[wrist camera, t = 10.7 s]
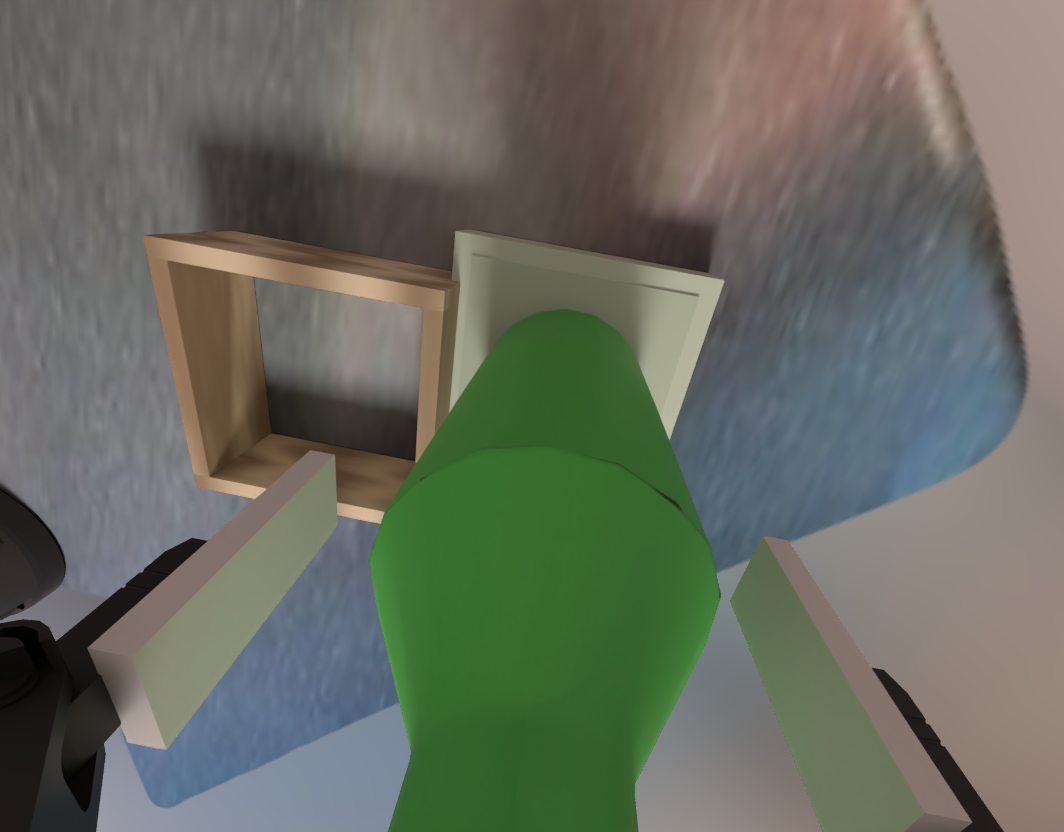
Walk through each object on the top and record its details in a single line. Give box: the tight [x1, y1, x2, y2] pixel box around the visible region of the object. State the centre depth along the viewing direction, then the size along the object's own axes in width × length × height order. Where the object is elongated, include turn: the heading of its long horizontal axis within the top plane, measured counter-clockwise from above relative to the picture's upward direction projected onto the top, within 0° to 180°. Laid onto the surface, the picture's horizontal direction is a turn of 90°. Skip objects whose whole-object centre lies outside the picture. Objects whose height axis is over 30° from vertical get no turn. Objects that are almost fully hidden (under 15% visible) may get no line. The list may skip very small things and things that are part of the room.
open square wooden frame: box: [143, 231, 461, 524], centre depth 27 cm, size 15×15×6 cm
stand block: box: [449, 229, 724, 440], centre depth 26 cm, size 14×14×3 cm
